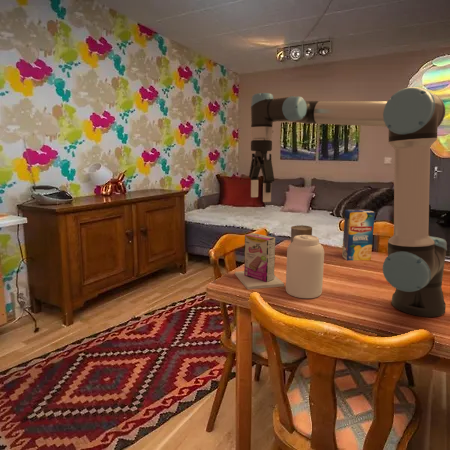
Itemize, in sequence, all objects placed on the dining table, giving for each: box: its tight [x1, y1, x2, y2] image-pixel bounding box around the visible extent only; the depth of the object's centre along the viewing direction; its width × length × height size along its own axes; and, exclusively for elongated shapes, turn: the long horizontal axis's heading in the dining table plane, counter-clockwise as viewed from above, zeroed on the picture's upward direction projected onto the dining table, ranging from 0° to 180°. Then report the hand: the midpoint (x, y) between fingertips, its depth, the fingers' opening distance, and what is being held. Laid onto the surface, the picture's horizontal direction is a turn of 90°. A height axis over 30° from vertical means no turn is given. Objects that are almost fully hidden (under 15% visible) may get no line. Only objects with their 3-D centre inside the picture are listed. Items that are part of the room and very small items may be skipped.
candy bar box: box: [243, 232, 276, 282], centre depth 139 cm, size 11×5×16 cm, turn 47°
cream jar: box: [285, 234, 325, 299], centre depth 127 cm, size 12×12×20 cm
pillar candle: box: [290, 224, 313, 243], centre depth 172 cm, size 10×10×15 cm
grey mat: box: [234, 270, 285, 290], centre depth 141 cm, size 17×14×1 cm
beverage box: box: [341, 209, 376, 262], centre depth 168 cm, size 7×11×22 cm, turn 91°
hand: (260, 199), depth 135 cm, fingers open, 13 cm apart
